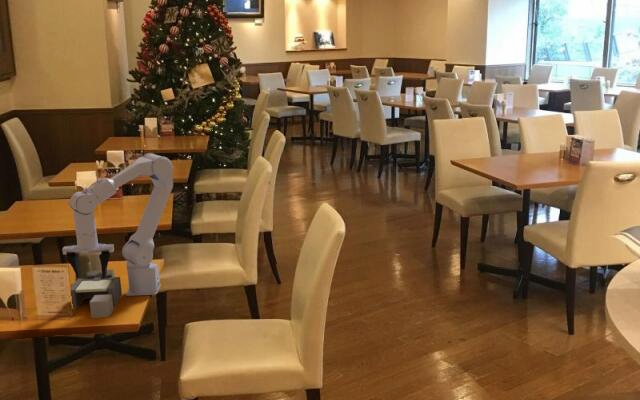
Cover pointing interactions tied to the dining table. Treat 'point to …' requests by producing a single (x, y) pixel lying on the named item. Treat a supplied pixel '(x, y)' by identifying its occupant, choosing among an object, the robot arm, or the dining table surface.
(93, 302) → the grey cube
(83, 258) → the olive green cylinder
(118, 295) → the trapdoor frame
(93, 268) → the candle
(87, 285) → the trapdoor flap
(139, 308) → the dining table surface
